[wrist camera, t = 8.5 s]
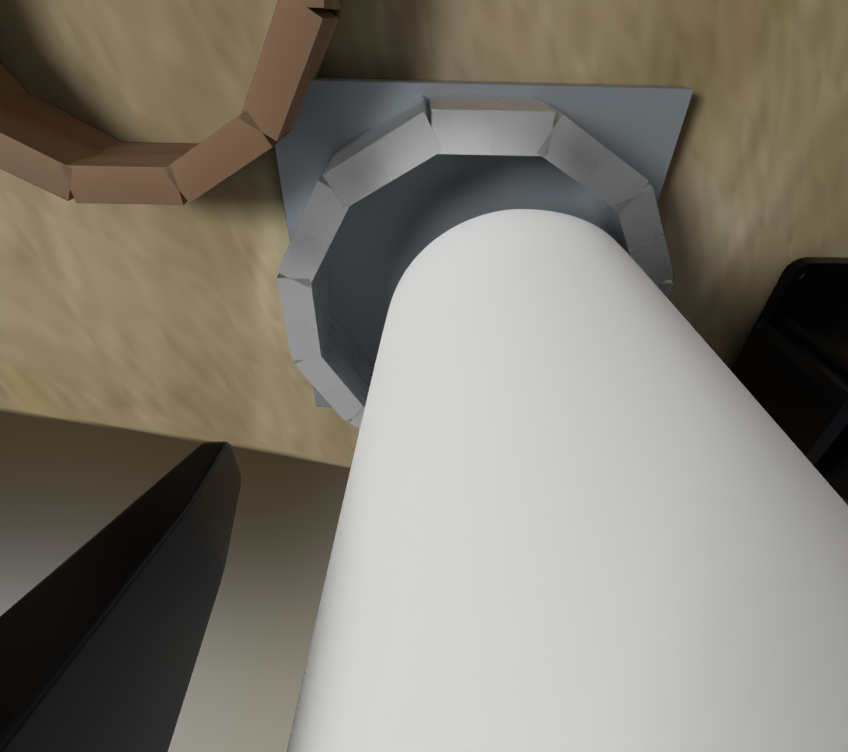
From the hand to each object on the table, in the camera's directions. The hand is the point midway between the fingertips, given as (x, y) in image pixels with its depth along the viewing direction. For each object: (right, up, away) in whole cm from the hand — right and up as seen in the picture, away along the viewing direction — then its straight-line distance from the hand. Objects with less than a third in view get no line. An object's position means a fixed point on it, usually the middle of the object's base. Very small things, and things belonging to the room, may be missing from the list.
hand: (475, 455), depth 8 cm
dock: (0, +5, +6) cm, 8 cm away
